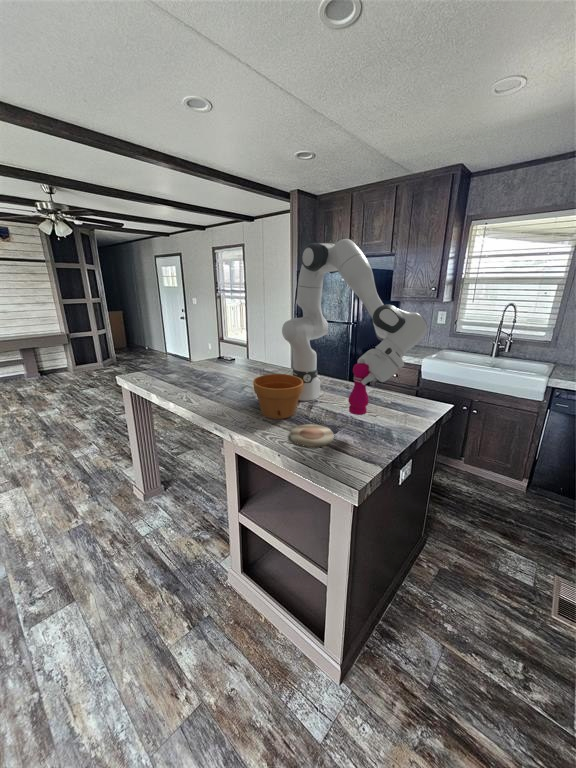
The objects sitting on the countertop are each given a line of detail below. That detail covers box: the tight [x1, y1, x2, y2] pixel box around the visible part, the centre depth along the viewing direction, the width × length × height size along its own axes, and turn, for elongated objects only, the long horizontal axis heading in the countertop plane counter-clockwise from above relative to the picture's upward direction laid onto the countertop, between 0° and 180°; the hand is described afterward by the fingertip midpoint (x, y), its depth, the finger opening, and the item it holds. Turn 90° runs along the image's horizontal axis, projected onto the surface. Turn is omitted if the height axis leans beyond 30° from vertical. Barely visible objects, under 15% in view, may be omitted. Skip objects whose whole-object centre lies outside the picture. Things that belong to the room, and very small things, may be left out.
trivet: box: [289, 423, 335, 448], centre depth 119 cm, size 16×16×1 cm
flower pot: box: [252, 373, 303, 420], centre depth 138 cm, size 21×21×15 cm
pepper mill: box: [348, 359, 370, 416], centre depth 114 cm, size 7×7×20 cm
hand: (358, 380), depth 114 cm, fingers closed on pepper mill, 5 cm apart
